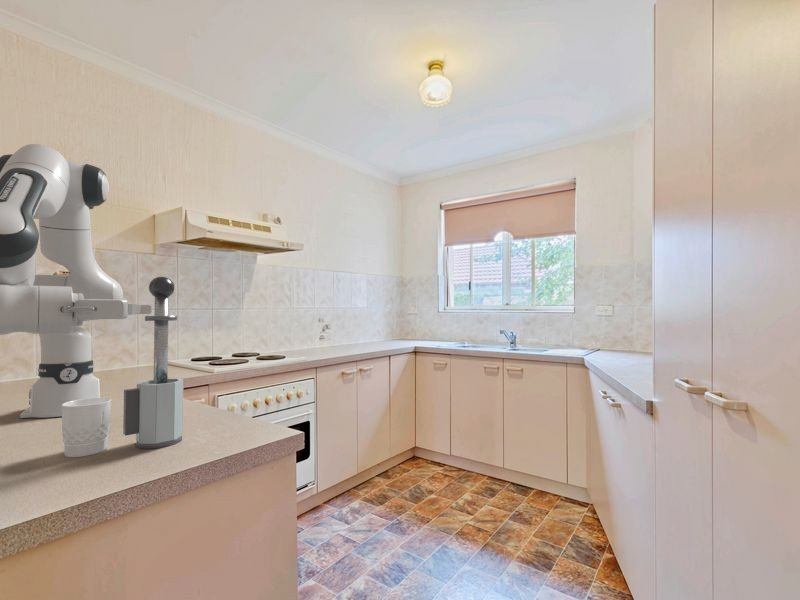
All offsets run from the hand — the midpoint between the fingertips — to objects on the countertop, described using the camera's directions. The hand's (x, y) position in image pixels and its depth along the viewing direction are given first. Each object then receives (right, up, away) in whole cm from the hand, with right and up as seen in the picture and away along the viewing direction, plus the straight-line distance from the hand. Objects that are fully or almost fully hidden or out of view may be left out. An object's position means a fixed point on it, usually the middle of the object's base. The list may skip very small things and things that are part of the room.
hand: (145, 309), depth 83 cm
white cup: (-9, -29, -4) cm, 30 cm away
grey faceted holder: (+2, -29, 0) cm, 29 cm away
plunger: (+2, -19, +2) cm, 19 cm away
